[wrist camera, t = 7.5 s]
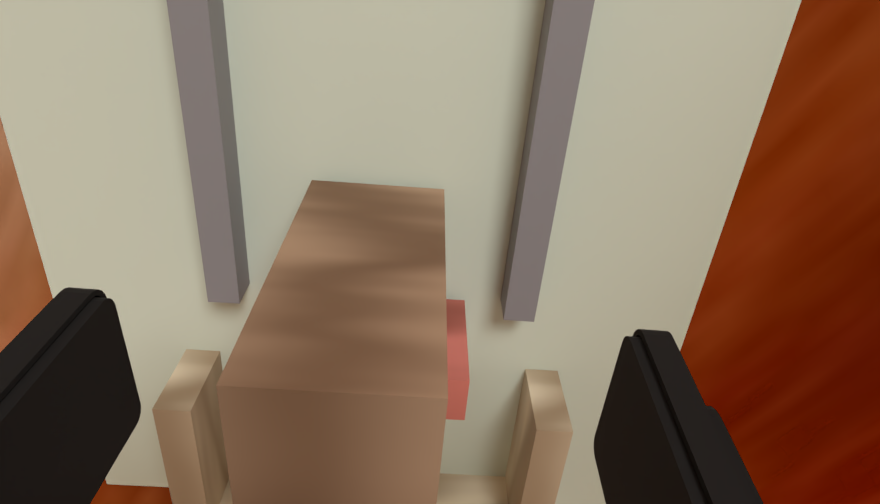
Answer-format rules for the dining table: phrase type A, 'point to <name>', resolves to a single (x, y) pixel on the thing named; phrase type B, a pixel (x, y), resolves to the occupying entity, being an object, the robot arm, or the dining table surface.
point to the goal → (459, 496)
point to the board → (392, 170)
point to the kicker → (348, 355)
